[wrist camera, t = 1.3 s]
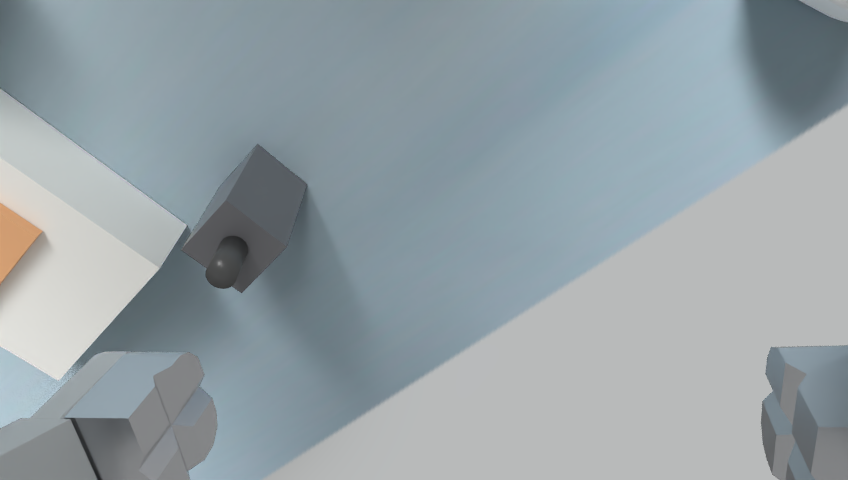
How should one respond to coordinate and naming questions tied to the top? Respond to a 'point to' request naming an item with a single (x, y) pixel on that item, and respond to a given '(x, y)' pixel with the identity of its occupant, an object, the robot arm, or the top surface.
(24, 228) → the shutter
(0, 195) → the socket
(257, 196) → the plug
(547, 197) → the top surface
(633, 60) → the top surface
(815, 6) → the medicine bottle
